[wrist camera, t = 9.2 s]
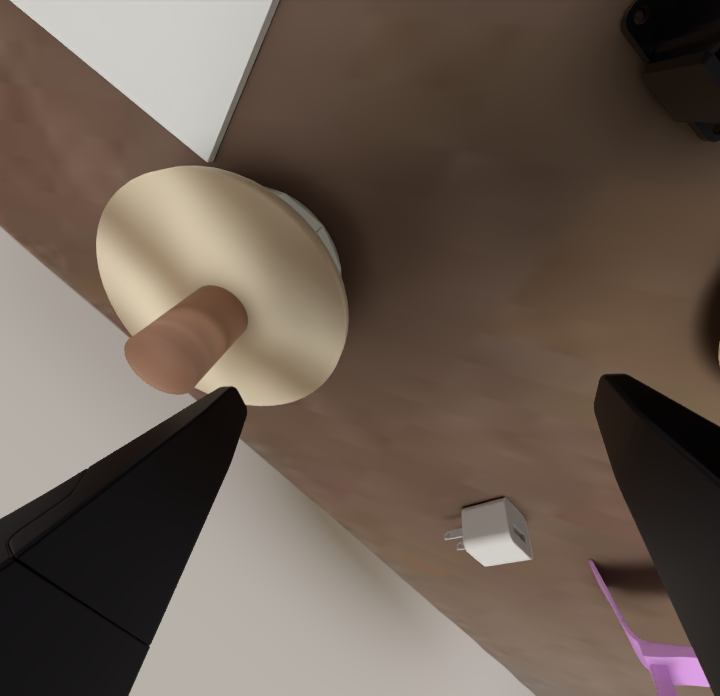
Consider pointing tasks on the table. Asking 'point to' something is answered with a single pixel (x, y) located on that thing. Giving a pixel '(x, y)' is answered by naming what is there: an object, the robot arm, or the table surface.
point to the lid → (221, 286)
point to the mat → (166, 55)
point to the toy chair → (661, 655)
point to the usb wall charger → (493, 533)
